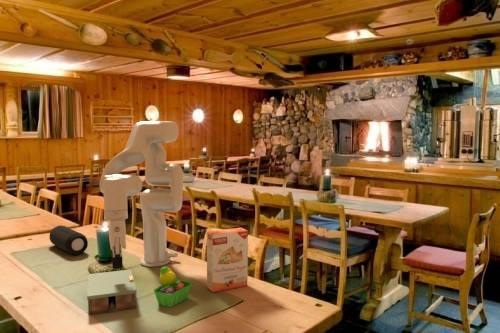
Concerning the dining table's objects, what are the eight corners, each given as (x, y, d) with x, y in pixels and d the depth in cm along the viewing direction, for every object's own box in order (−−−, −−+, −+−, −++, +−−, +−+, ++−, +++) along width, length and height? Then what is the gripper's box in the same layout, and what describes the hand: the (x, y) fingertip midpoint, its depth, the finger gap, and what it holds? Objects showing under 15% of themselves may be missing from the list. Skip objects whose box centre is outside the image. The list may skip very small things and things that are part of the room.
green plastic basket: (170, 310, 133) (169, 275, 132) (149, 303, 138) (149, 270, 137) (193, 297, 143) (192, 265, 142) (173, 292, 148) (173, 261, 147)
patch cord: (112, 286, 150) (112, 283, 150) (114, 309, 131) (114, 305, 131) (108, 287, 149) (108, 283, 149) (110, 310, 131) (109, 305, 131)
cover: (131, 272, 153) (131, 267, 153) (136, 293, 134) (136, 288, 134) (88, 276, 148) (88, 272, 148) (87, 299, 129) (87, 294, 129)
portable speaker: (90, 253, 193) (89, 232, 192) (68, 258, 186) (67, 236, 185) (68, 242, 211) (67, 223, 210) (48, 246, 204) (47, 226, 203)
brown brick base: (131, 285, 153) (131, 272, 153) (136, 308, 135) (136, 293, 134) (89, 291, 148) (89, 277, 148) (88, 315, 130) (87, 299, 129)
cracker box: (212, 293, 146) (212, 234, 144) (206, 287, 152) (205, 230, 150) (248, 286, 153) (248, 230, 151) (241, 281, 158) (241, 226, 156)
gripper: (129, 217, 135) (130, 273, 136) (126, 209, 149) (127, 260, 150) (104, 219, 132) (106, 276, 134) (104, 210, 146) (105, 262, 148)
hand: (117, 267), depth 142 cm, fingers closed
